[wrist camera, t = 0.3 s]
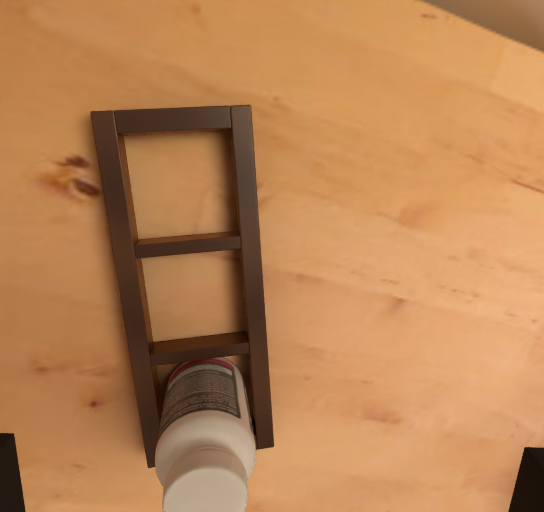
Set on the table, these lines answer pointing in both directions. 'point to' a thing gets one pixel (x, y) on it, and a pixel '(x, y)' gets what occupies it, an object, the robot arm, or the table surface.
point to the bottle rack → (131, 251)
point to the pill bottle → (205, 439)
